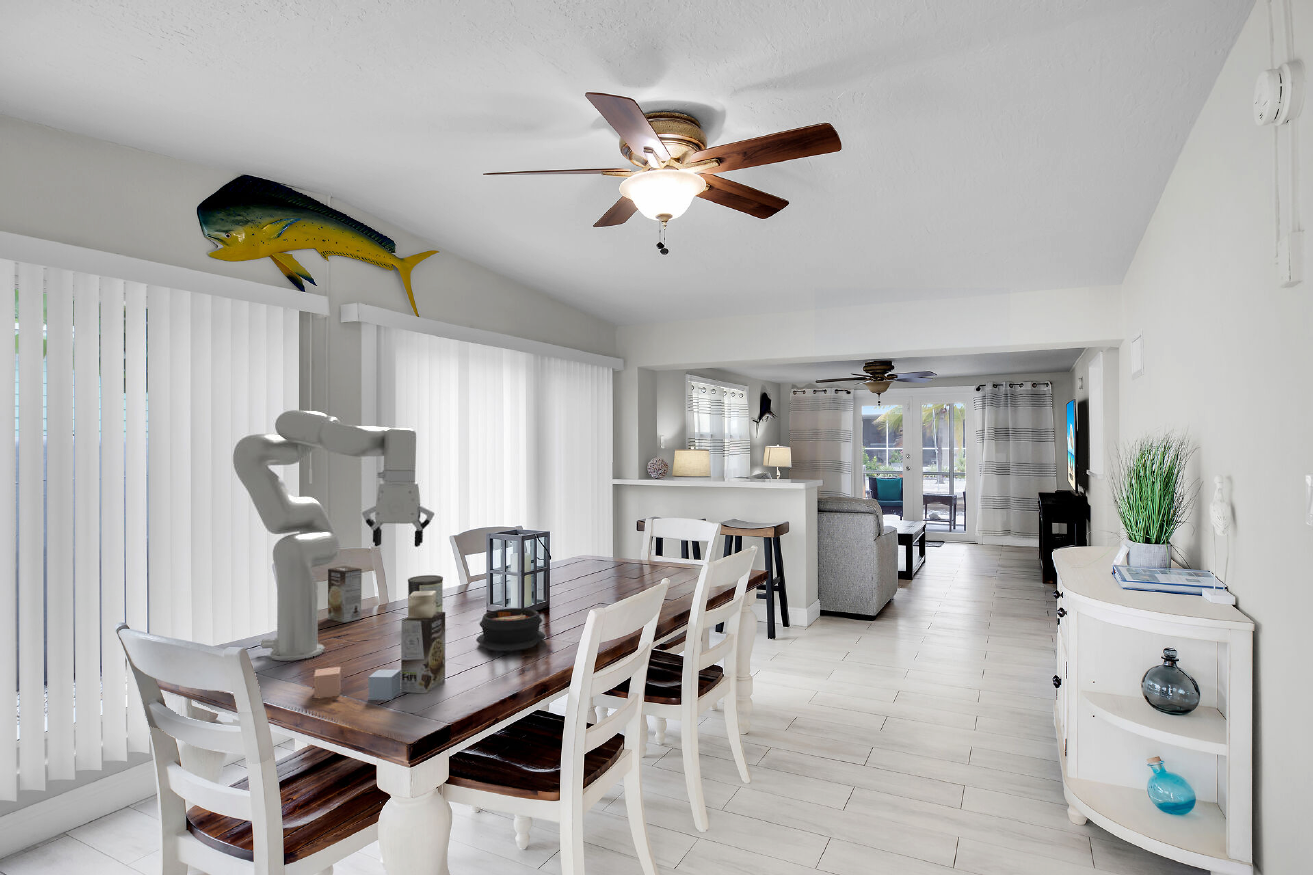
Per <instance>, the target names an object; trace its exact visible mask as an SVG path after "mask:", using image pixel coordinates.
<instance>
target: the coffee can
mask: <svg viewBox="0 0 1313 875" xmlns="http://www.w3.org/2000/svg"><path fill="white" fill-rule="evenodd" d="M407 582H408V584H407V585H408V586H407V588H408V589H407V593H408V594H407V603H408V604H407V607H408V608H407V611H408V612H407V617H409V595H410V594H411V593H413V592H414V591H436V612H443V605H444V604H443V600H444V599H443V596H444V595H443V590H444V588H443V584H444V583H443V582H444V577H443V576H441V575H434V574H432V575H431V574H426V575H425V574H424V575H417V576H413V577H408V579H407Z"/></svg>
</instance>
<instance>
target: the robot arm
mask: <svg viewBox="0 0 1313 875" xmlns="http://www.w3.org/2000/svg"><path fill="white" fill-rule="evenodd" d="M274 426H275V432H276V433H277V434H274V433H273V434H272V433H259V434H257V433H256V434H255V433H254V434H250V435H247V436H245V437H242V438H241V439H240V440H239V441H238V442H237V443H236V445H235V447H234V451H233V454H232V457H233V458H232V462H233V468H234V470H235V473H236V476H237V477H238V478H239V480H240V482H241V483H242V485H243V486H244V487H245V489H246V491H247V492H248V494H249V496H250V497H251V501H252V502H253V504H254V507H255V509H256V512H257V513H258V515H259V517H260V519H261V521H262V523H263V525H264V527H265V529H266V530H267V531H268V532H270V533H272V534H273V535H282V534H283V535H285V534H287V535H285V536H283V537H281V538H280V539H279V540H277V542H276V543H275V544H274V546H273V549H272V560H273V564H274V569H275V575H276V590H277V591H276V598H277V599H276V601H277V602H276V604H277V606H276V607H277V609H276V610H277V611H276V612H277V613H276V614H277V615H276V620H277V621H276V625H277V626H276V627H277V628H276V632H277V633H276V638H275V637H274V639H270V638H268V639H262V640H260V641H261V642H260V647H261V648H262V649H272V651H271V652H270V654H269V655H270V659H272V660H275V661H278V662H279V661H280V662H281V661H283V662H288V661H300V660H306V659H310V658H314V657H317V656H319V655H322V654H323V653H324V652H325V645H323V644H321V643H318V633H319V630H318V629H319V625H318V624H319V623H318V620H319V619H318V618H319V617H318V615H319V612H318V609H319V607H318V605H319V604H318V603H319V602H318V601H319V599H318V598H319V597H318V596H319V592H318V590H319V588H318V581H317V578H316V575H315V573H314V572H313V570H312V568H315V567H319V566H324V565H328V564H331V563H332V562H334V561H335V560H336V559H337V558H338V556H339V554H340V551H341V549H340V548H341V545H340V540H339V537H338V535H337V533H336V531H335V529H334V527H333V525H332V523H331V521H330V519H329V516H328V515H327V512H326V511H325V509H324V508H323V506H322V504H321V503H320V502H319V501H318V500H317V499H315V498H313V497H311V496H292V495H291V494H290V493H289V490H288V489H287V487H286V485H285V483H284V481H283V480H282V478H281V477H280V476H279V475H278V474H276V473H275V472H274V471H273V470H272V469H271V468H270V467H269V466H291V465H294V464H297V463H299V462H301V461H303V460H304V459H305V458H306V457H307V456H310V454H311V453H312V452H313V451H315V450H316V449H318V448H321V449H324V450H325V451H327V452H330V453H334V454H337V455H338V454H339V455H344V456H349V457H354V458H355V457H356V458H357V457H358V458H362V457H365V458H366V457H383V470H382V471H381V472H379V471H378V473H377V476H376V477H377V478H378V479H382V482H379V484H378V487H377V488H378V489H377V494H376V502H375V505H374V506H373V507H370V508H369V509H366V510H364V511H363V512H361V514H362V516H363V518H364V521H365V523H366V525H367V526H369V527H370V529H371V530H372V543H374V547H379V546H381V545H382V528H381V526H382V525H383V524H405V525H406V524H412V525H413V526H414V527H415V529H416V530H415V531H414V547H416V548H418V547H420V546H421V544H423V537H424V529H425V528H426V527H427V526H429V525H430V523H431V522H432V520H433V518H434V517H435V512H433V511H431V510H430V509H428V508H426V507H424V506H422V505H421V496H420V495H421V494H420V488H419V483H418V482H416V470H417V469H416V464H417V463H416V460H417V455H416V454H417V432H416V431H415V430H414V429H412V428H405V427H400V428H398V427H391V428H390V427H386V426H385V427H384V426H382V427H381V426H367V425H366V426H364V425H363V426H359V425H350V424H345V423H341V421H340V420H339V419H338V418H337V417H335V416H330V415H326V414H325V413H323V412H320V411H316V410H313V411H312V410H300V409H299V410H298V409H293V410H291V409H290V410H287V411H284V412H282V413H281V414H280V415H279V416H278V417H277V418H276V420H275V423H274ZM373 513H374V518H375V520H374V519H373V518H372V517H371V515H372V514H373ZM421 514H423V515H425V516H426V517H425V520H424V521H423V522H422V521H421ZM322 652H323V653H322ZM313 656H314V657H313ZM305 658H306V659H305Z"/></svg>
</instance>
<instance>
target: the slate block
mask: <svg viewBox="0 0 1313 875" xmlns="http://www.w3.org/2000/svg"><path fill="white" fill-rule="evenodd" d="M400 693H402V692H401V669H377V670H376V671H375V672H373V673H372V674H371V675H369V676H368V700H369V701H392V700H394V699H395V698H396V697H397V696H398V695H399V694H400Z"/></svg>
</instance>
